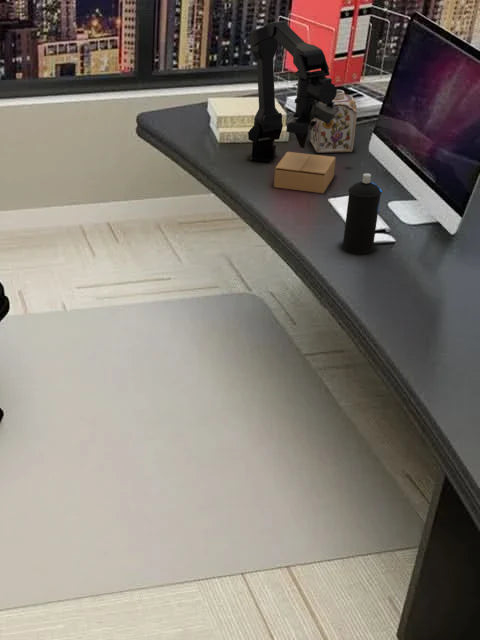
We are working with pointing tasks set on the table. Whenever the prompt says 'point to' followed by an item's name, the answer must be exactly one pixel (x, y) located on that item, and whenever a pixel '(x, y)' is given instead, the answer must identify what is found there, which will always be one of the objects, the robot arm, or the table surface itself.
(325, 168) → the carton
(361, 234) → the aerosol can
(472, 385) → the table surface
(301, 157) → the flap
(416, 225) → the table surface
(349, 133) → the decorative jar
